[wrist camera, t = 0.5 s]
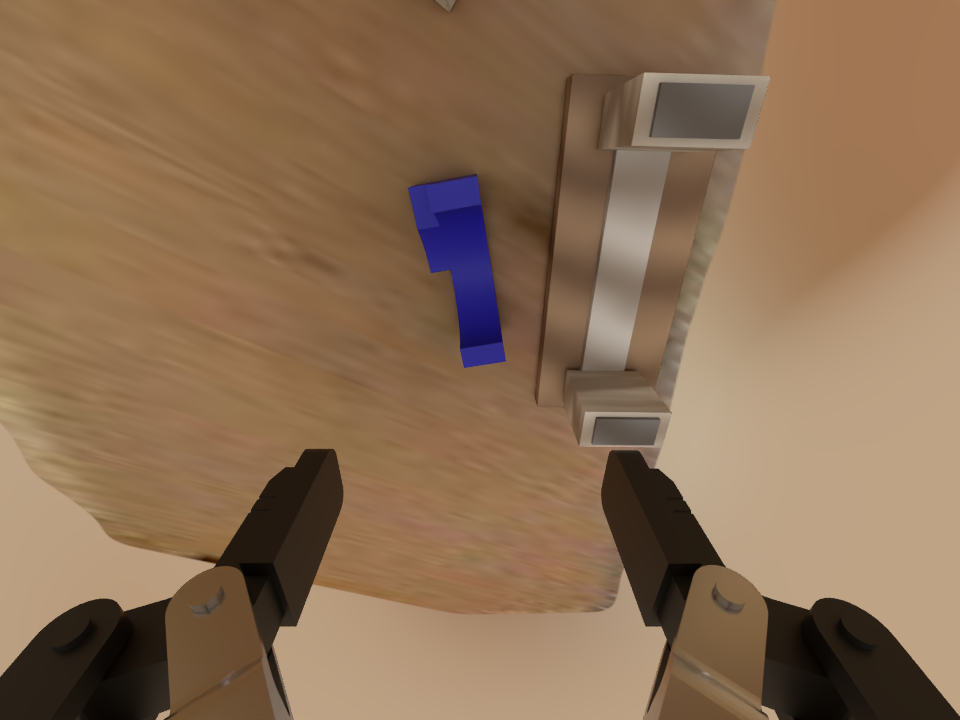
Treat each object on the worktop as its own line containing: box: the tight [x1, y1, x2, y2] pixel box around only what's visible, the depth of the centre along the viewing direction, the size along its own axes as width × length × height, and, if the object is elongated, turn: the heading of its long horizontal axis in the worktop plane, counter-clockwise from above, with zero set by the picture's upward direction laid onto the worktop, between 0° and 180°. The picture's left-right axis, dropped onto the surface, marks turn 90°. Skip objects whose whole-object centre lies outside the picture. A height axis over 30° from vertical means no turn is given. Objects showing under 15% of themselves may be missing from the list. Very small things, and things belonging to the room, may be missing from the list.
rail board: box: [535, 72, 770, 447], centre depth 27 cm, size 24×10×8 cm, turn 179°
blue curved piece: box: [408, 174, 506, 368], centre depth 28 cm, size 12×4×6 cm, turn 10°
